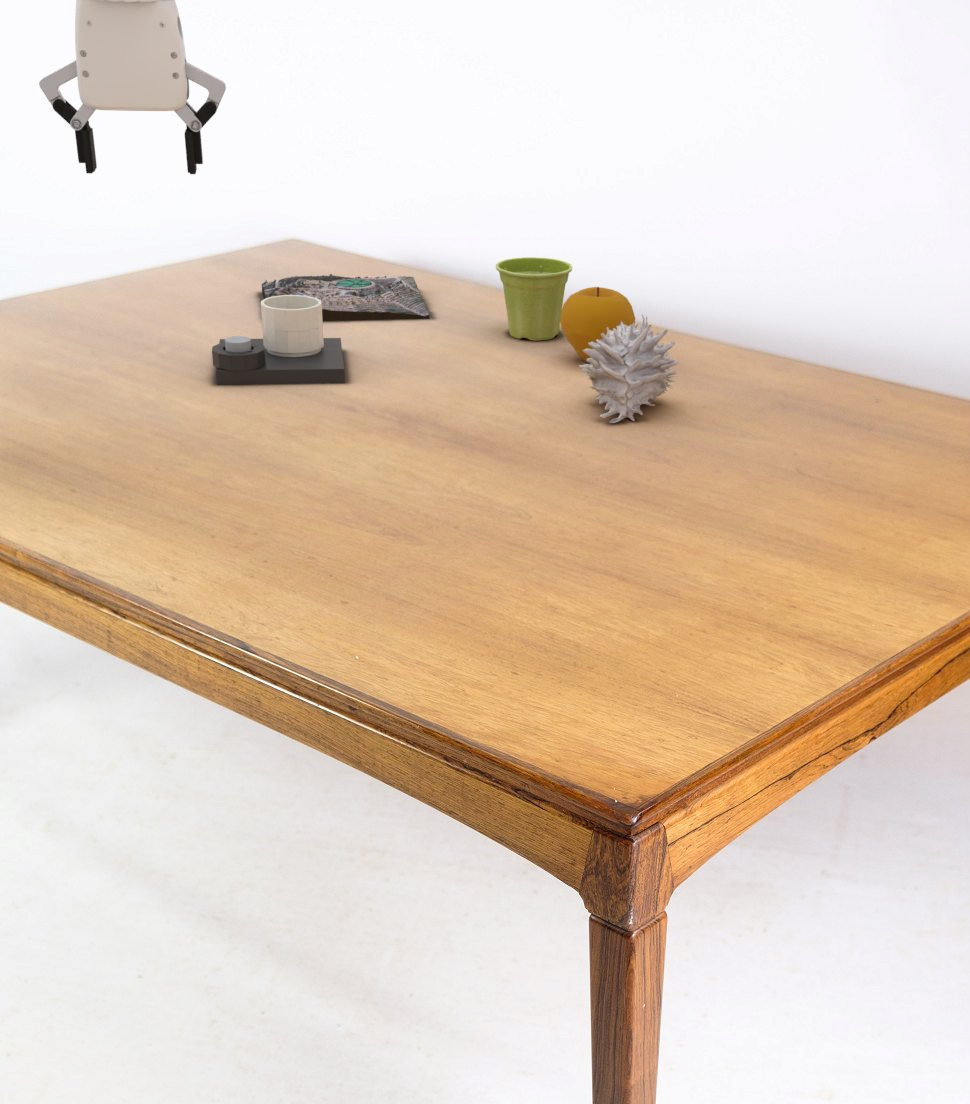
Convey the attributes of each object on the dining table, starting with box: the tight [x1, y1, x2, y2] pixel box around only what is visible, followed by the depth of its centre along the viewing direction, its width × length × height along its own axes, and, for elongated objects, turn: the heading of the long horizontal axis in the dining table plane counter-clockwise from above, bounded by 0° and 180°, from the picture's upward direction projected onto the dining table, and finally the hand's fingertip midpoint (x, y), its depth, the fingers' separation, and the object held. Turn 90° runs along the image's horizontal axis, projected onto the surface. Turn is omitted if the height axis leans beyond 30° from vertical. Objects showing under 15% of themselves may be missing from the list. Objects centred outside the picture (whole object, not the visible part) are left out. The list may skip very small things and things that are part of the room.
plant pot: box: [495, 256, 573, 342], centre depth 202 cm, size 9×9×9 cm
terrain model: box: [261, 273, 430, 322], centre depth 212 cm, size 20×15×3 cm
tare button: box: [224, 335, 252, 352], centre depth 181 cm, size 3×3×1 cm
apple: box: [560, 286, 636, 364], centre depth 193 cm, size 9×9×9 cm
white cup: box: [260, 295, 324, 357], centre depth 187 cm, size 7×7×6 cm
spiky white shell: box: [578, 314, 681, 424], centre depth 177 cm, size 12×11×12 cm
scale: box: [211, 337, 346, 386], centre depth 186 cm, size 14×13×4 cm
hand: (142, 171), depth 161 cm, fingers open, 9 cm apart
